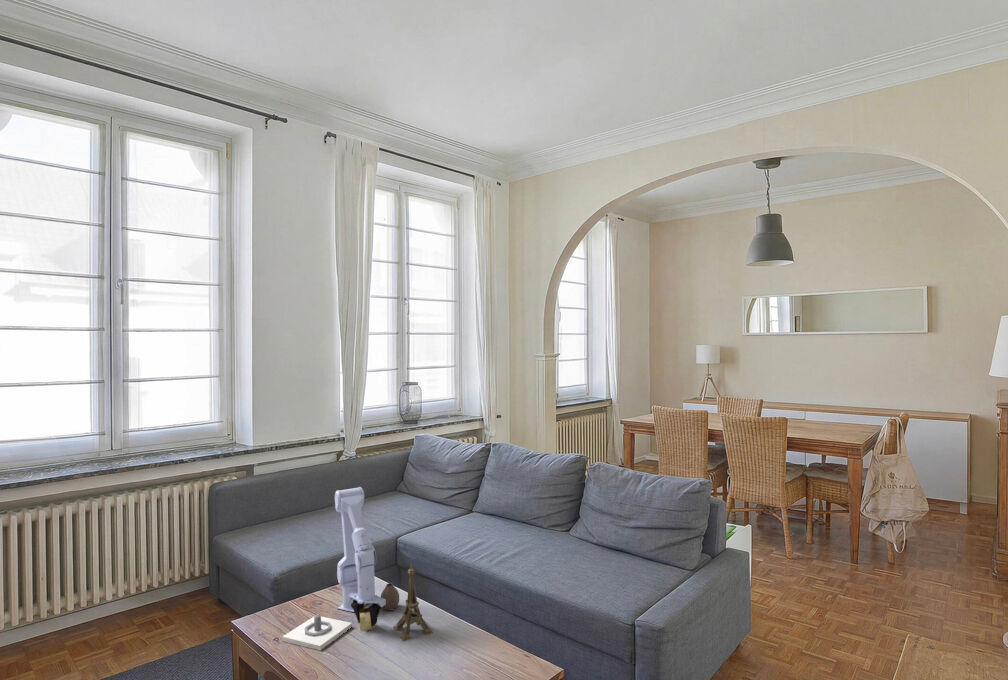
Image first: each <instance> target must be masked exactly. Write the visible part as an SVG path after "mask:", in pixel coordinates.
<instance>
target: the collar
mask: <svg viewBox="0 0 1008 680" xmlns="http://www.w3.org/2000/svg"><path fill="white" fill-rule="evenodd" d="M368 607H369V606H364V607H363V608H362V609H360V610H359V620H360V623H359V629H360V631H362V630H364V631H363V632H368V630H369V631H372V630H373V629H375V628H376V624H375V625H374V626H371V617H370V612H369V609H368ZM374 627H375V628H374Z"/></svg>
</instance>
